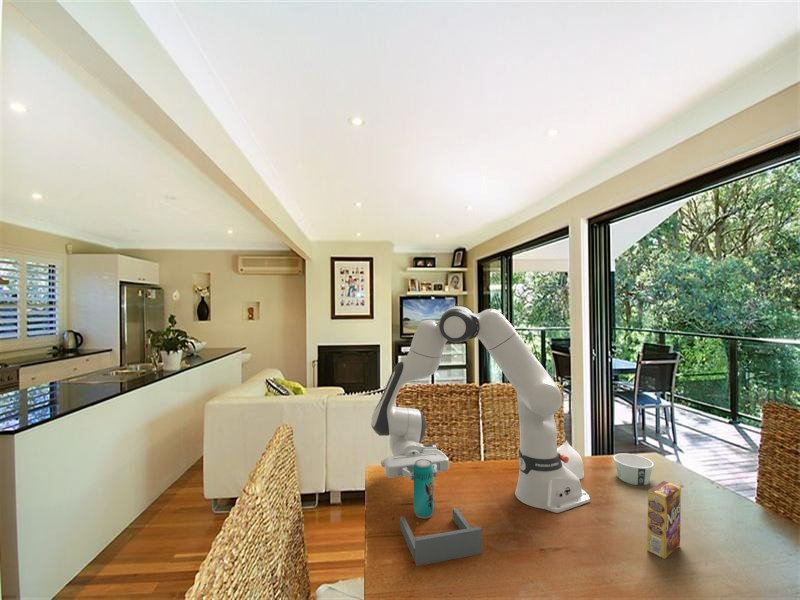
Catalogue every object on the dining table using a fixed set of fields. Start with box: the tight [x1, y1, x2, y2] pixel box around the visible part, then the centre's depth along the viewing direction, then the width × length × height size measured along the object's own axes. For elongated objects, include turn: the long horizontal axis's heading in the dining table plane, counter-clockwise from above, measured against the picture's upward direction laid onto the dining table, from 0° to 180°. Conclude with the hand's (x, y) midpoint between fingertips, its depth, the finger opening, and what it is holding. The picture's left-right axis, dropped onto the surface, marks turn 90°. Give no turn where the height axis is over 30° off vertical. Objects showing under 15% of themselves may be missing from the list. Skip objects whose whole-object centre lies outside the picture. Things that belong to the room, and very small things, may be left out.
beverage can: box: [413, 459, 435, 520], centre depth 110 cm, size 6×6×15 cm
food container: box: [612, 453, 655, 486], centre depth 131 cm, size 12×12×6 cm
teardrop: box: [557, 439, 585, 480], centre depth 136 cm, size 11×11×12 cm
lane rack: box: [399, 507, 483, 567], centre depth 98 cm, size 17×16×6 cm
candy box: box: [646, 480, 682, 560], centre depth 94 cm, size 9×4×15 cm, turn 123°
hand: (424, 475), depth 110 cm, fingers closed on beverage can, 6 cm apart
